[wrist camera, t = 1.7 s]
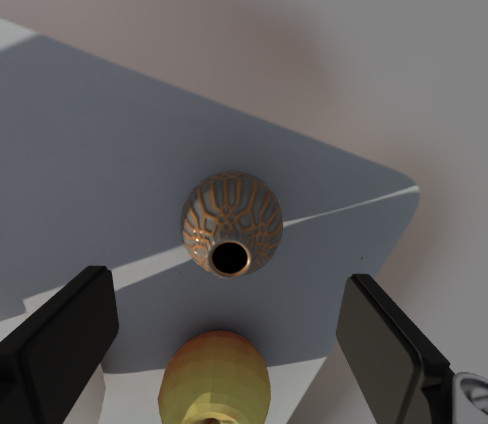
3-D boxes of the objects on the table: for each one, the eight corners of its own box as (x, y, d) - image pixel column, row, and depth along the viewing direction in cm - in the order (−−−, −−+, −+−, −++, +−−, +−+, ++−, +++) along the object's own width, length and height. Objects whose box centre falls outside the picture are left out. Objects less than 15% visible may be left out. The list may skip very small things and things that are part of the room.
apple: (167, 314, 24) (134, 400, 16) (267, 312, 24) (279, 397, 16) (176, 385, 27) (152, 486, 19) (264, 384, 27) (273, 483, 20)
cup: (-6, 298, 23) (-171, 412, 14) (127, 317, 24) (58, 434, 15) (8, 390, 27) (-112, 527, 18) (123, 403, 28) (66, 538, 19)
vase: (182, 174, 19) (140, 207, 11) (267, 156, 19) (289, 178, 11) (203, 249, 22) (181, 325, 13) (280, 235, 21) (306, 303, 13)
